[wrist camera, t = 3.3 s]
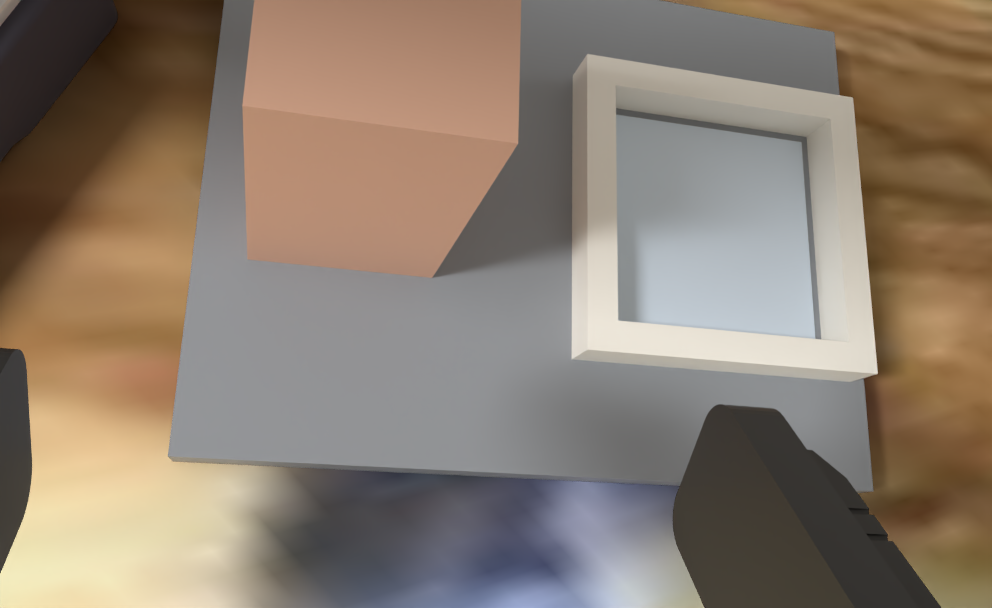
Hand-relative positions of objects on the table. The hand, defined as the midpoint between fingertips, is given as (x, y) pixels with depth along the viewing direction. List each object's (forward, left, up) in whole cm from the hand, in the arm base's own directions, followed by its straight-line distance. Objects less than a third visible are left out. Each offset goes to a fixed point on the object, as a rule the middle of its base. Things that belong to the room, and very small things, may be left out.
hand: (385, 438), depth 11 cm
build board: (+5, +8, -12) cm, 15 cm away
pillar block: (0, +8, -11) cm, 13 cm away
